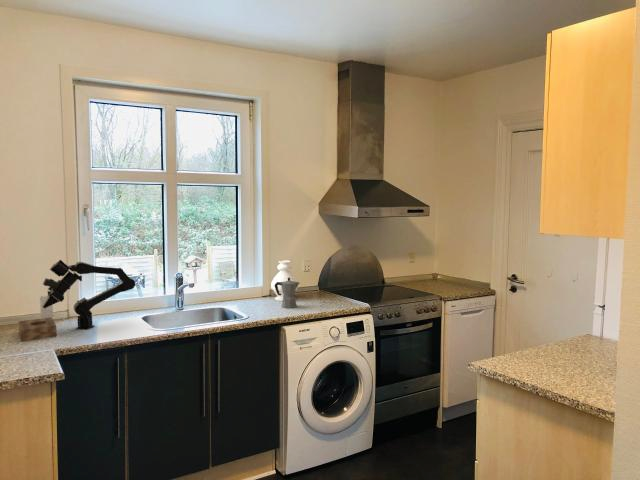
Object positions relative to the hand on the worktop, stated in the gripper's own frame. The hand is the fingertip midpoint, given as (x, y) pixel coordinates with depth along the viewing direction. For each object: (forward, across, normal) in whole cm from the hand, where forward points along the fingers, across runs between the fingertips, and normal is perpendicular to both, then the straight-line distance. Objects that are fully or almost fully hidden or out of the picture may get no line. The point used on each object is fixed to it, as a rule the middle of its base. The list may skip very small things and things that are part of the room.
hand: (43, 306), depth 248 cm
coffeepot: (-81, +16, +102) cm, 131 cm away
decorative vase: (-89, -6, +109) cm, 141 cm away
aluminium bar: (+3, 0, +5) cm, 5 cm away
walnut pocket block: (+11, 0, +8) cm, 14 cm away
